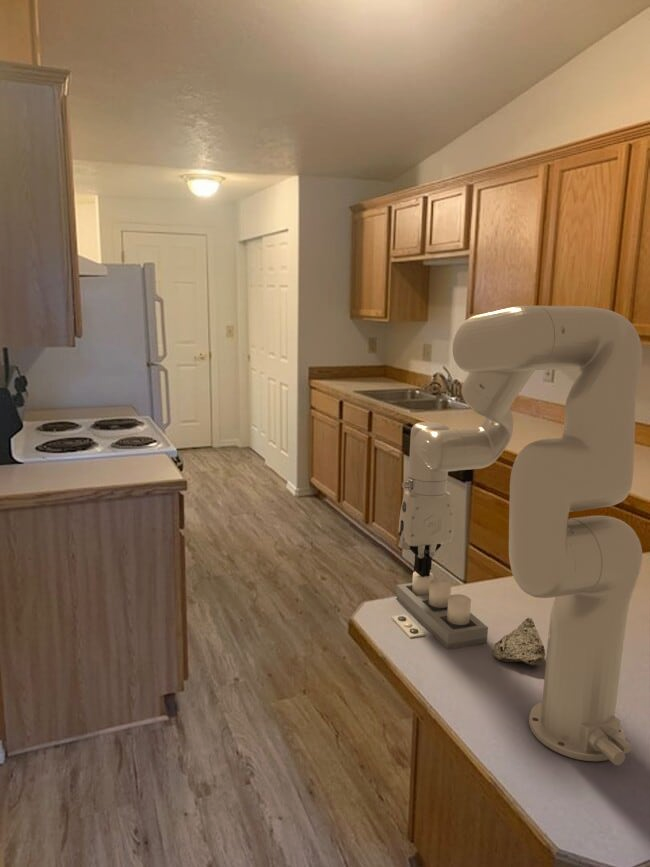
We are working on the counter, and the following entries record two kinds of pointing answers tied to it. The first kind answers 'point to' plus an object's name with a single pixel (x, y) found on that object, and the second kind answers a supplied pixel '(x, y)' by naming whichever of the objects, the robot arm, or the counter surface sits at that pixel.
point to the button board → (441, 620)
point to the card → (407, 626)
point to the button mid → (439, 593)
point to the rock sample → (521, 645)
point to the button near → (458, 609)
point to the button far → (421, 584)
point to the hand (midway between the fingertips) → (422, 573)
